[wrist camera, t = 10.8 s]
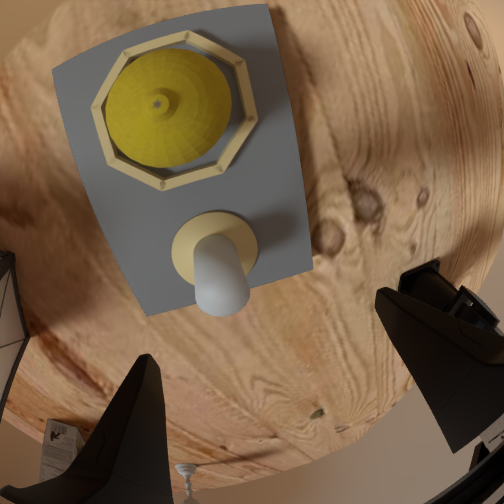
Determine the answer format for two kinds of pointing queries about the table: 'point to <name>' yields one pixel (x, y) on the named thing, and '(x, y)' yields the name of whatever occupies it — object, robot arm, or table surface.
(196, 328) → the table surface
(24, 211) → the table surface
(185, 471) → the chalice
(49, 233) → the table surface
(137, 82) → the lemon
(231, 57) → the board
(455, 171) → the table surface
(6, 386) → the lantern
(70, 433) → the coffee box
